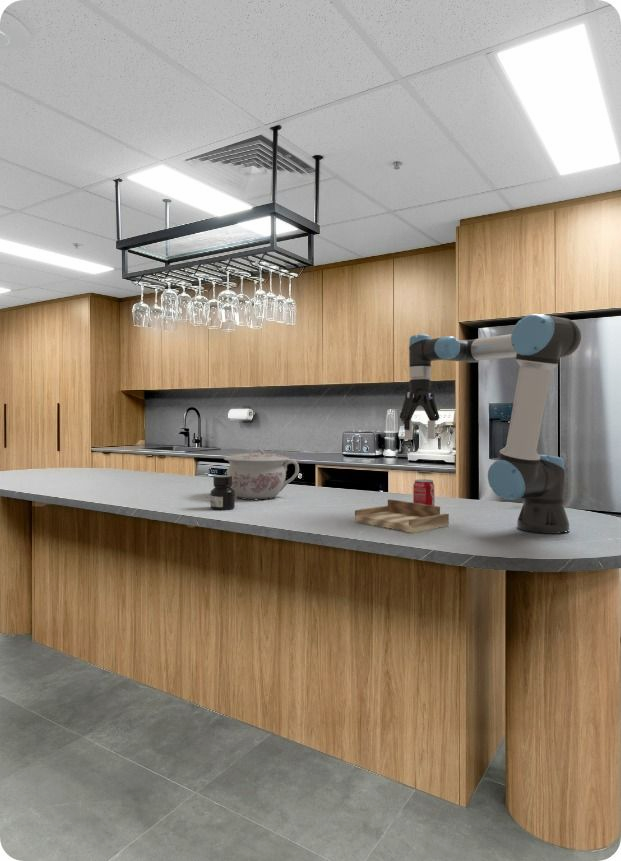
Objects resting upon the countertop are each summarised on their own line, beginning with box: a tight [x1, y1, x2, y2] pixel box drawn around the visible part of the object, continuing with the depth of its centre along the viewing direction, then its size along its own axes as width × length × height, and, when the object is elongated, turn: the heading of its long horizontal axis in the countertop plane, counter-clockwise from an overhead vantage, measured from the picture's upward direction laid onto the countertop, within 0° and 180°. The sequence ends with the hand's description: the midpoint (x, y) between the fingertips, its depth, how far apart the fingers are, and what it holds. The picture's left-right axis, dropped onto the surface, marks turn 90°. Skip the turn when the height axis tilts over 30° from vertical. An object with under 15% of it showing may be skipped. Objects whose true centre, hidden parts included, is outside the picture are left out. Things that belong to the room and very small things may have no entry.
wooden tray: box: [354, 498, 450, 534], centre depth 193 cm, size 24×18×6 cm
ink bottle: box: [209, 474, 236, 511], centre depth 220 cm, size 10×9×12 cm
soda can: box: [412, 478, 436, 506], centre depth 204 cm, size 7×7×13 cm
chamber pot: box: [223, 447, 300, 500], centre depth 249 cm, size 28×28×21 cm
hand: (420, 439), depth 211 cm, fingers open, 13 cm apart
